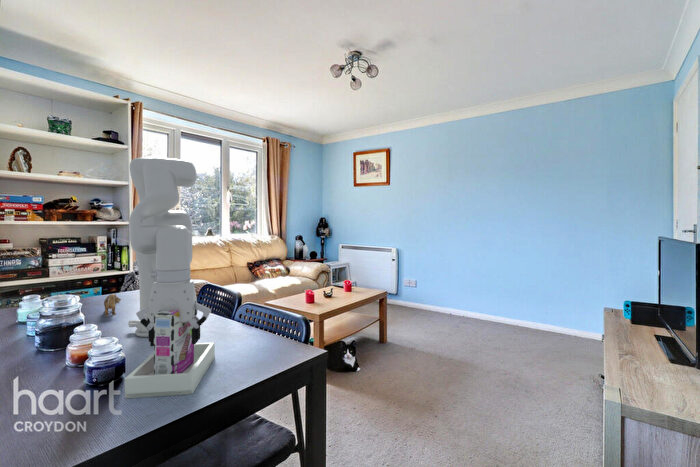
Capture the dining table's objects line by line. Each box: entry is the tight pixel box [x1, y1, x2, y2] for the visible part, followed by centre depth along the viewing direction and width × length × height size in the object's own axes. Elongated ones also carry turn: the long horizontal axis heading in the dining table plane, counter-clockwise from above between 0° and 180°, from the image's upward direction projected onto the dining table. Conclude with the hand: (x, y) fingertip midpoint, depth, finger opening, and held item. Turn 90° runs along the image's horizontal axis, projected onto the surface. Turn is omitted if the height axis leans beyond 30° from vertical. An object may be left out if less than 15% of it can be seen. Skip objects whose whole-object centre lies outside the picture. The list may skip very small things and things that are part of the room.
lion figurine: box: [103, 293, 122, 317], centre depth 140 cm, size 15×5×9 cm, turn 46°
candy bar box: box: [153, 311, 194, 375], centre depth 85 cm, size 11×5×16 cm, turn 0°
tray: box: [124, 341, 216, 399], centre depth 85 cm, size 14×20×4 cm
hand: (175, 343), depth 85 cm, fingers open, 9 cm apart
